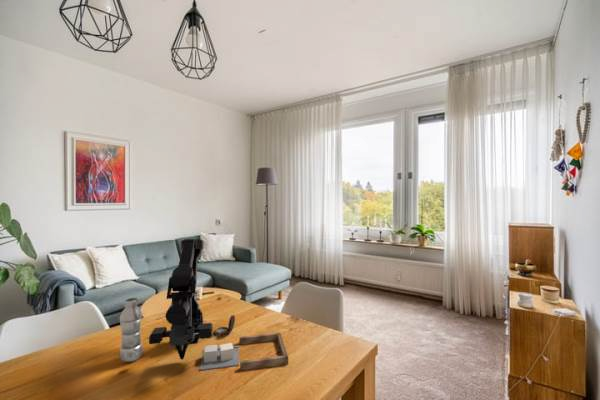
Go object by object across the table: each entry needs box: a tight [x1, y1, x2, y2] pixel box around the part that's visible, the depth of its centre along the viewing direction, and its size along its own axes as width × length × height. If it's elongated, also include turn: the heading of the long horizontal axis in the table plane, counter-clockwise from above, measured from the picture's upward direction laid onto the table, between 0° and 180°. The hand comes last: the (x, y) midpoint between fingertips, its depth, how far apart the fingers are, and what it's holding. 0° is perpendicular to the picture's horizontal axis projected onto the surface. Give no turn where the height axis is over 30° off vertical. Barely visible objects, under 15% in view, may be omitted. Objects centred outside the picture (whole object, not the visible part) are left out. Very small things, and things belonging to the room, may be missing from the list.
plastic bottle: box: [119, 297, 144, 363], centre depth 95 cm, size 6×7×20 cm
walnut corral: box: [238, 332, 289, 371], centre depth 99 cm, size 15×17×2 cm
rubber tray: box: [199, 345, 240, 371], centre depth 96 cm, size 12×12×1 cm
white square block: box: [219, 342, 234, 361], centre depth 97 cm, size 4×4×4 cm
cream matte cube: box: [204, 344, 219, 363], centre depth 95 cm, size 4×4×4 cm
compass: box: [213, 314, 236, 338], centre depth 113 cm, size 8×8×7 cm
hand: (182, 358), depth 94 cm, fingers closed
